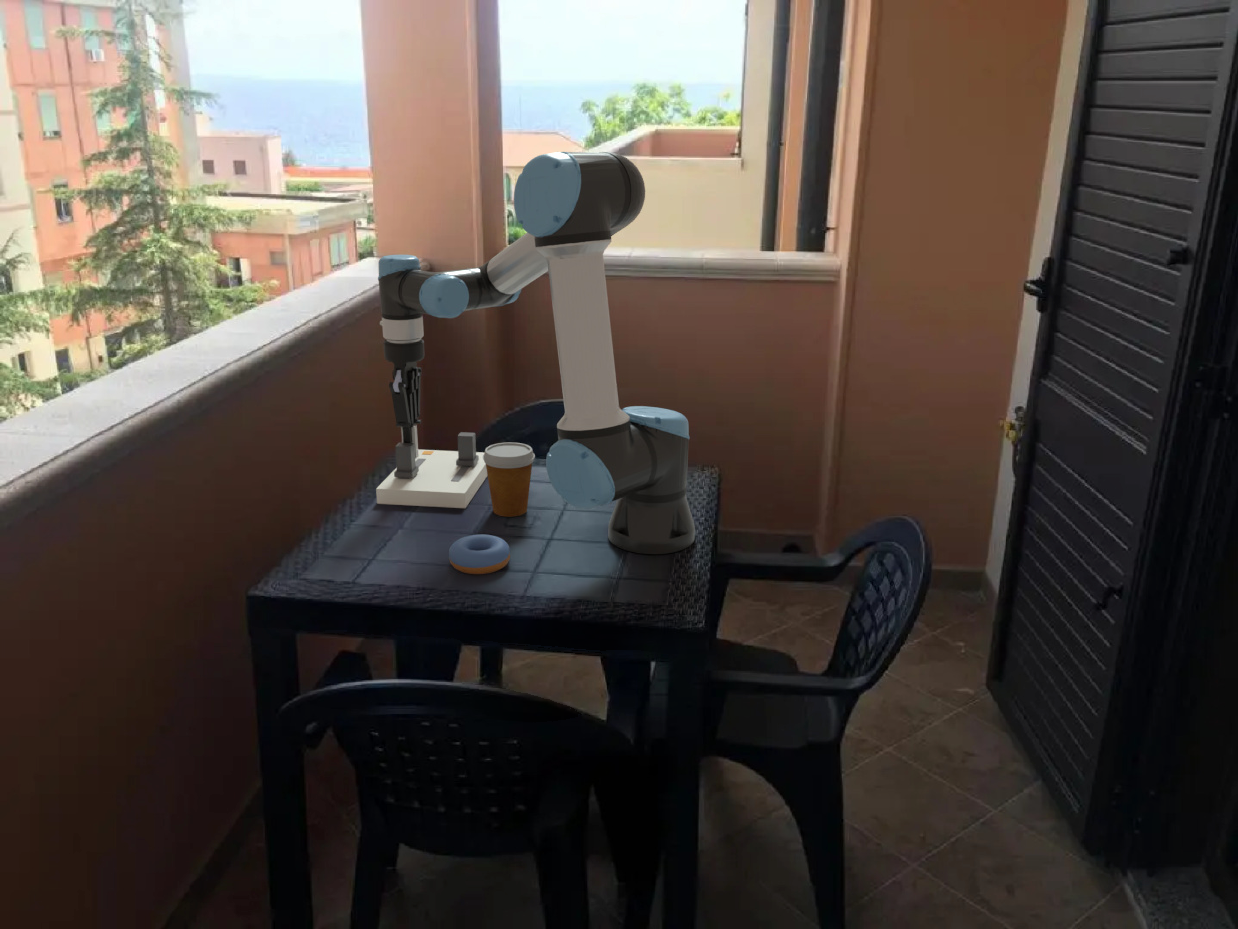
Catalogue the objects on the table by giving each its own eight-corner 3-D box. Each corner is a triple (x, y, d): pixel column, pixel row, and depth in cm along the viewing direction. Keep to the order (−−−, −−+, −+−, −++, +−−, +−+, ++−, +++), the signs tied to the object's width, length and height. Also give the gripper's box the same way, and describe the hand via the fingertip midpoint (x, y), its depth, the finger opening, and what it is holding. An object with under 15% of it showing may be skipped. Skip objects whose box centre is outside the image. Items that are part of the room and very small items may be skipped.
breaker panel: (465, 508, 183) (464, 492, 182) (377, 503, 184) (376, 488, 183) (493, 466, 205) (493, 452, 204) (414, 462, 207) (414, 448, 206)
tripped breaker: (412, 477, 188) (410, 448, 186) (394, 477, 188) (392, 447, 186) (418, 471, 192) (417, 441, 190) (400, 470, 192) (399, 441, 190)
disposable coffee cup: (532, 521, 177) (532, 458, 173) (480, 519, 178) (478, 457, 174) (538, 502, 186) (537, 442, 182) (488, 500, 187) (486, 441, 183)
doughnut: (441, 574, 155) (443, 548, 154) (455, 552, 165) (457, 526, 164) (503, 582, 155) (505, 556, 154) (513, 559, 165) (515, 534, 163)
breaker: (473, 466, 195) (472, 437, 193) (456, 465, 195) (455, 436, 193) (478, 459, 199) (477, 431, 197) (461, 459, 199) (460, 431, 197)
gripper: (395, 331, 190) (402, 445, 198) (372, 345, 178) (381, 467, 186) (432, 332, 190) (438, 447, 198) (412, 347, 178) (419, 469, 186)
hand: (410, 456), depth 192 cm, fingers closed
